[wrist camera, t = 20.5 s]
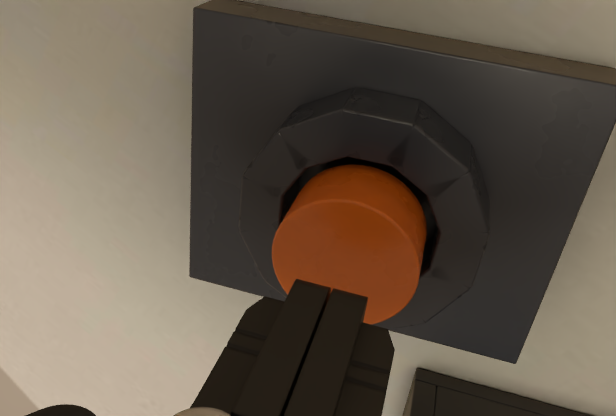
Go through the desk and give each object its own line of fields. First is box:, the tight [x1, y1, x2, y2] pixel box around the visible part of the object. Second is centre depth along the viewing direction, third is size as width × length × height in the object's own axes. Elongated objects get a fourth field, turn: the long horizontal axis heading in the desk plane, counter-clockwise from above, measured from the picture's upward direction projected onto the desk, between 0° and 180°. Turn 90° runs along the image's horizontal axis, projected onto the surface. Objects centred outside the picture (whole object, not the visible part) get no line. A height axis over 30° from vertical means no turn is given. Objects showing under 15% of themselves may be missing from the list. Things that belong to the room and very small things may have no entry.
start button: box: [272, 164, 427, 324], centre depth 15 cm, size 4×4×2 cm
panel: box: [190, 0, 616, 364], centre depth 17 cm, size 11×9×4 cm
